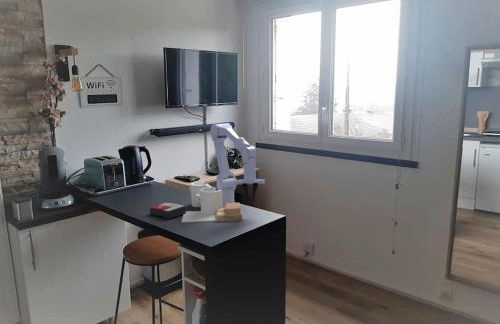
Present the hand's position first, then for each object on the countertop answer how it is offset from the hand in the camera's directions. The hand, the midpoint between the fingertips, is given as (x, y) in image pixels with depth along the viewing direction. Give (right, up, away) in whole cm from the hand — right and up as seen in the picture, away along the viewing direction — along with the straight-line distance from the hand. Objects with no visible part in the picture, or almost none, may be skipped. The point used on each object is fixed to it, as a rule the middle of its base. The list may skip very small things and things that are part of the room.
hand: (250, 198), depth 196 cm
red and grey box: (-41, -8, +4) cm, 42 cm away
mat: (-25, -9, 0) cm, 26 cm away
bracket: (-24, -7, +14) cm, 28 cm away
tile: (-8, -6, 0) cm, 10 cm away
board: (-10, -9, +1) cm, 13 cm away
